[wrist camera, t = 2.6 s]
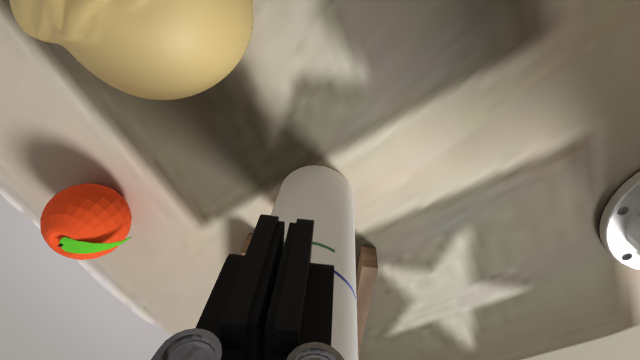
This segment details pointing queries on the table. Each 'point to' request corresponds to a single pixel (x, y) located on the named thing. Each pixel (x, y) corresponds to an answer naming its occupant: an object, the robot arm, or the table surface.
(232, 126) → the table surface
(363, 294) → the cradle rails
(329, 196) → the cylindrical container
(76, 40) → the pale yellow lumpy blob
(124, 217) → the clementine
